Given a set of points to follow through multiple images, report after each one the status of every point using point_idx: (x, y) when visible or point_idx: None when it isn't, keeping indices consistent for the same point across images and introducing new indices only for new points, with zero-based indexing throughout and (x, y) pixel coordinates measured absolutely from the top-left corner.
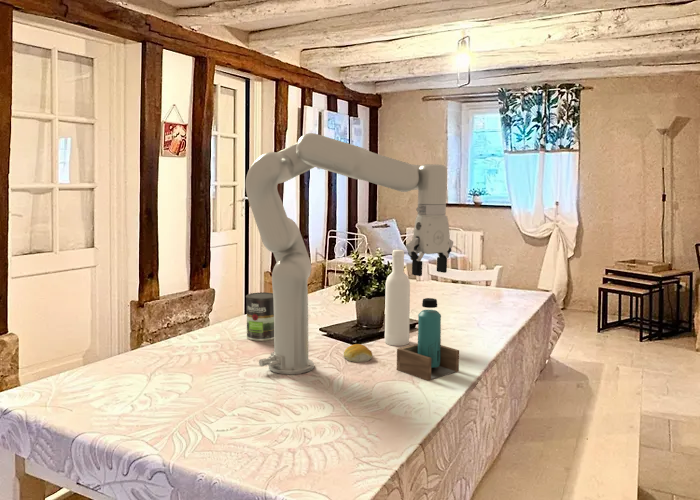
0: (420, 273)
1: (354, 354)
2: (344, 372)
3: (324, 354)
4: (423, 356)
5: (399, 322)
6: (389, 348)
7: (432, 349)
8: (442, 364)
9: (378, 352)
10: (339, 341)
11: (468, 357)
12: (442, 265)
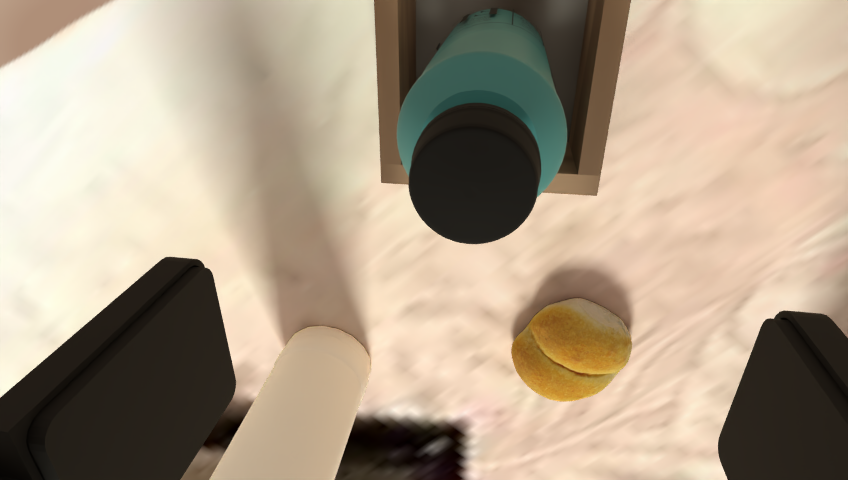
0: (844, 338)
1: (623, 340)
2: (755, 269)
3: (623, 428)
4: (617, 11)
5: (322, 398)
6: (398, 337)
7: (525, 29)
8: (414, 47)
9: (464, 334)
10: (474, 473)
11: (218, 68)
12: (156, 374)
